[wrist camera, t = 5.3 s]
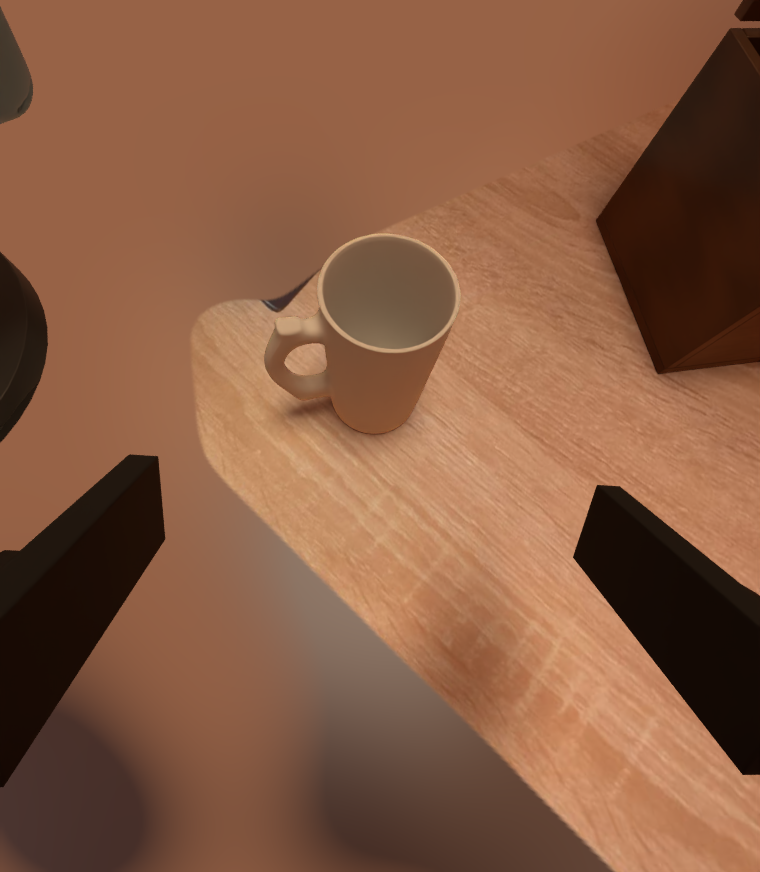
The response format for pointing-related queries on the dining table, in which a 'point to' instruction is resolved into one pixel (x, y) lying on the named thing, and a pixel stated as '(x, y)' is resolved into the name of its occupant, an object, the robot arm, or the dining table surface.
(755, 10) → the lid
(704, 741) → the dining table surface
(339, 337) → the mug
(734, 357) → the chest
